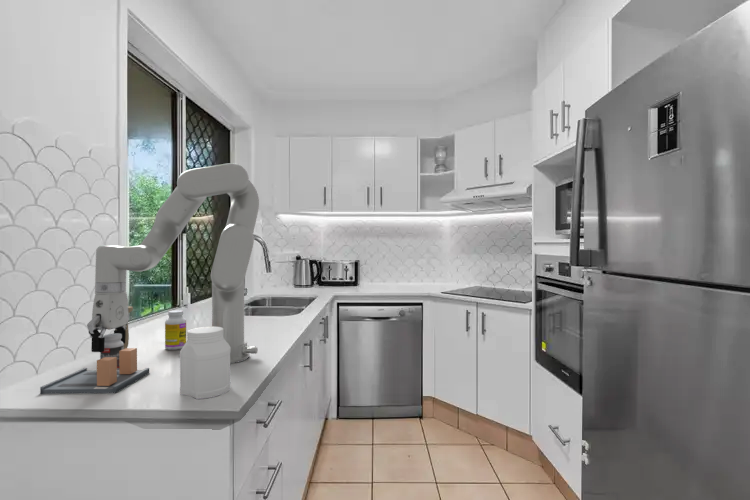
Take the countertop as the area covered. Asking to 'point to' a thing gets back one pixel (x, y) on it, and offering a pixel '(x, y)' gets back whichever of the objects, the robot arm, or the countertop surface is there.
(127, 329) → the handle
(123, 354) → the orange rectangular block
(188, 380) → the jar
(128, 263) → the robot arm
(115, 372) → the tab
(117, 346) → the pill bottle
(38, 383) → the countertop surface
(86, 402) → the countertop surface
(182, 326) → the supplement bottle
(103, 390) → the grey tray
